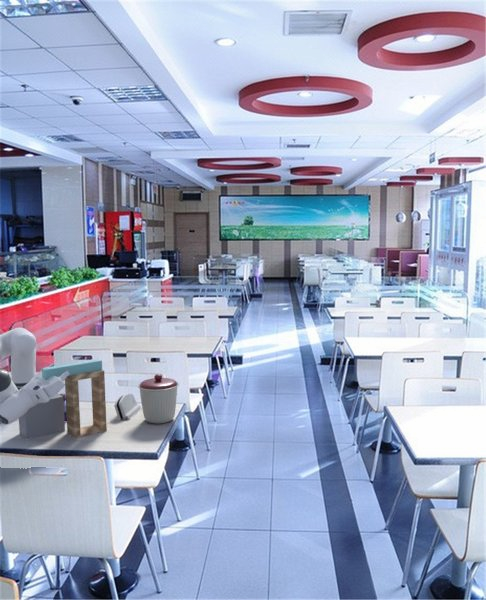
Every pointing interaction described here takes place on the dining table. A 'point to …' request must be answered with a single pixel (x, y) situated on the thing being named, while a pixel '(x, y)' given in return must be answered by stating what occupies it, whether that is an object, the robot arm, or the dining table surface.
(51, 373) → the teal bar
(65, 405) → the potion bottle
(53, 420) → the low step
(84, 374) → the stand
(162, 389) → the canister
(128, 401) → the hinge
